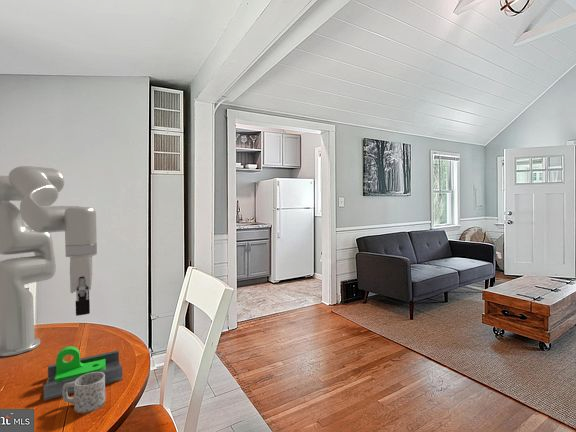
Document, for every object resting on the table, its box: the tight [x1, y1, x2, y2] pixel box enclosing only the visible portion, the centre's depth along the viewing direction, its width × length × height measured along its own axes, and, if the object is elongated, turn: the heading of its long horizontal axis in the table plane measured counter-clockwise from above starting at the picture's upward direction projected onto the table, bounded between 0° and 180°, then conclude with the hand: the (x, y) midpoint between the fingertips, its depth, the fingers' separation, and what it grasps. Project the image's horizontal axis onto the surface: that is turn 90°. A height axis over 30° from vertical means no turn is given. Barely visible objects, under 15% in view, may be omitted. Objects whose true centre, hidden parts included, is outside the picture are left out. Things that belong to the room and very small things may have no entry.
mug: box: [61, 372, 106, 414], centre depth 80 cm, size 10×7×7 cm, turn 92°
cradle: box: [43, 349, 124, 401], centre depth 92 cm, size 13×18×4 cm
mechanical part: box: [55, 345, 106, 382], centre depth 92 cm, size 12×6×8 cm, turn 121°
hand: (83, 309), depth 91 cm, fingers open, 9 cm apart
